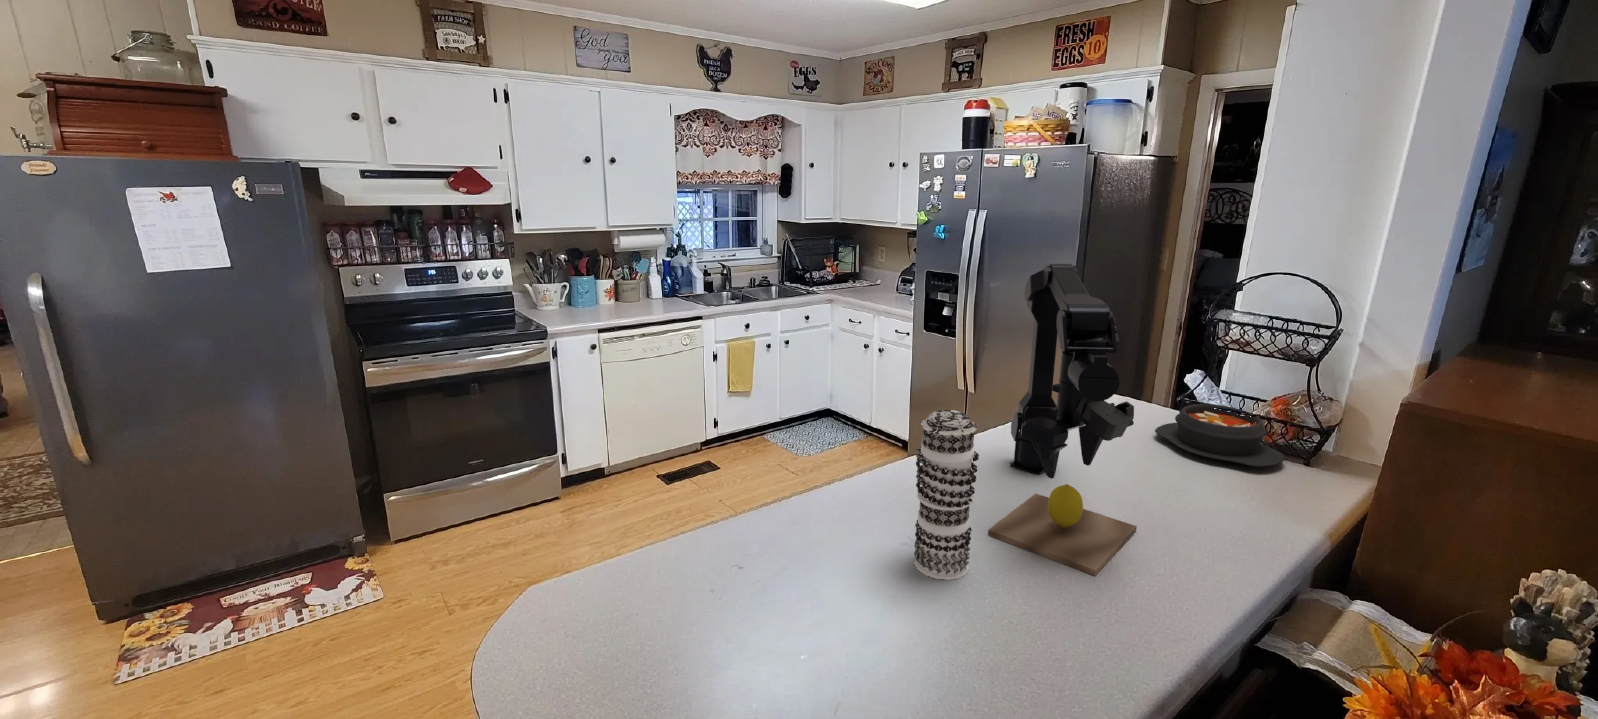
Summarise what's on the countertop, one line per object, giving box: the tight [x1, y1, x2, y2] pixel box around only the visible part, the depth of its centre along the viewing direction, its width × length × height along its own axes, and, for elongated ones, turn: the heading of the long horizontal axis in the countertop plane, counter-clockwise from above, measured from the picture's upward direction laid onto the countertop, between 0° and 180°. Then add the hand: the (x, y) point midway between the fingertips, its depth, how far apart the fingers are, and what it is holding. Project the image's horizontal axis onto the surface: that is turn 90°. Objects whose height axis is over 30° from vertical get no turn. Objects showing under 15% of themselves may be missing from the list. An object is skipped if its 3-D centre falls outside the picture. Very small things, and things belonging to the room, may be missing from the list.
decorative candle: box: [913, 409, 980, 581], centre depth 105 cm, size 9×9×25 cm
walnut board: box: [987, 493, 1138, 577], centre depth 117 cm, size 18×18×1 cm
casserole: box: [1154, 403, 1285, 468], centre depth 148 cm, size 25×19×8 cm
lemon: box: [1048, 483, 1084, 528], centre depth 116 cm, size 6×6×8 cm
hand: (1068, 471), depth 114 cm, fingers open, 9 cm apart
